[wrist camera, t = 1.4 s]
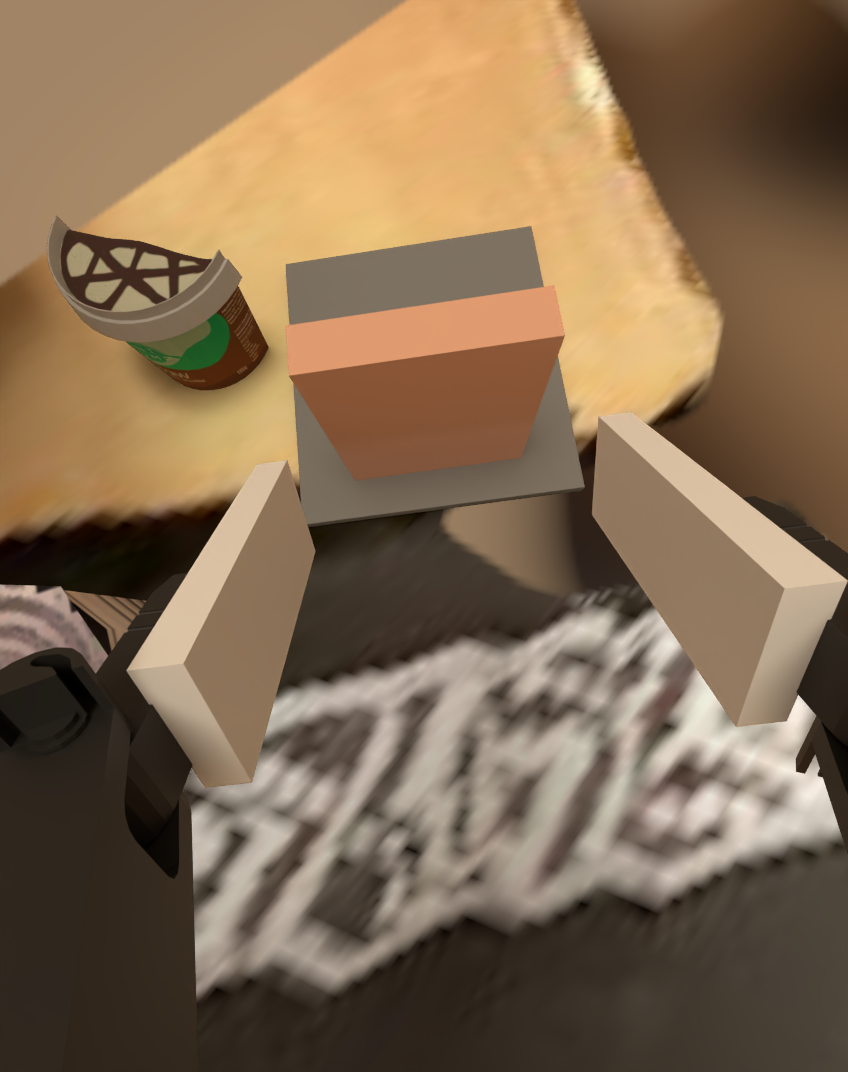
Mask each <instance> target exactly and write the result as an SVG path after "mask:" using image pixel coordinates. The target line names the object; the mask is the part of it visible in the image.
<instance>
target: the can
mask: <svg viewBox="0 0 848 1072" xmlns="http://www.w3.org/2000/svg"><path fill="white" fill-rule="evenodd" d="M145 602H146V601H142V600H135V599H127V598H119V597H111V596H104V595H96V594H88V593H81V592H73V591H65V590H63V589H62V588H61V586H27V585H0V670H1V669H2V668H4V667H6V666H7V665H9V664H10V663H12V662H14V661H17V660H19V659H21V658H23V657H26V656H28V655H30V654H32V653H35V652H39V651H43V650H47V649H51V648H55V647H64V648H73V649H75V650H76V651H78V652H79V653H81V654H82V655H83V657H84V658H85V660H86V661H87V662H88V664H89V665H90V666H91V668H92V669H93V670H94V672H95V673H97V671H98V670H99V668H100V667H101V665H102V664H103V662H104V661H105V660H106V658H107V657H108V655H109V654H110V652H111V651H112V650H113V648H114V647H115V645H116V644H117V642H118V641H119V640H120V638H121V637H122V635H123V634H124V633H126V632H128V629H127V628H128V627H129V625H130V624H131V622H132V621H133V620H134V618H135V617H136V616H139V611H140V609H141V608H142V607H143V605H144V604H145Z"/></svg>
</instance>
